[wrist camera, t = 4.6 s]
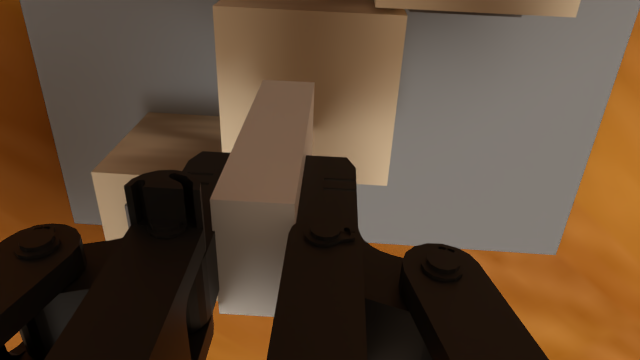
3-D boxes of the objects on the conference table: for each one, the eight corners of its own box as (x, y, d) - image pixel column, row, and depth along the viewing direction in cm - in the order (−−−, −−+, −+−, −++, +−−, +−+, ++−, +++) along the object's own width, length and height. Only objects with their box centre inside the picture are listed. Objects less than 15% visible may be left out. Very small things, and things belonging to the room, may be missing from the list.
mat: (79, 217, 28) (74, 223, 27) (-31, -245, 18) (-42, -249, 18) (551, 248, 27) (555, 255, 27) (706, -219, 17) (717, -223, 17)
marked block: (163, 221, 27) (115, 304, 21) (148, 112, 24) (87, 175, 18) (274, 228, 27) (254, 313, 21) (273, 119, 24) (249, 186, 18)
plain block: (252, 114, 24) (223, 175, 18) (248, -22, 21) (212, 5, 15) (379, 121, 23) (387, 185, 18) (393, -15, 20) (407, 15, 15)
